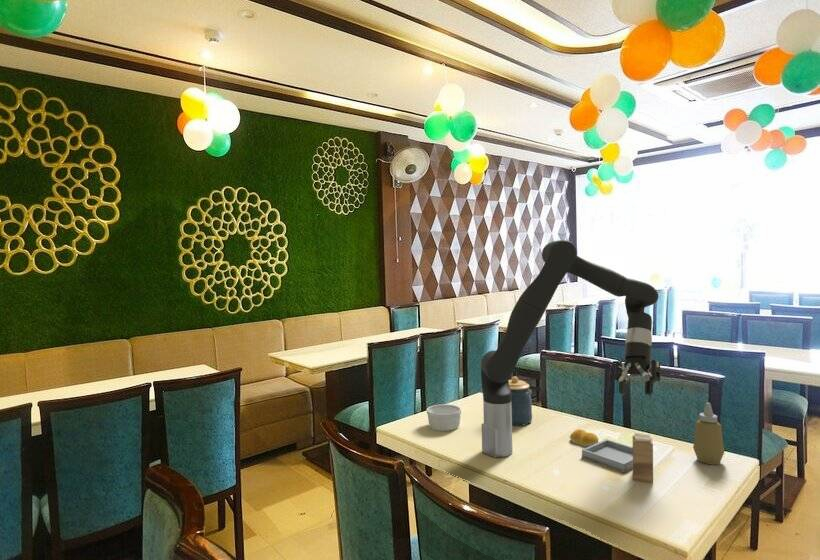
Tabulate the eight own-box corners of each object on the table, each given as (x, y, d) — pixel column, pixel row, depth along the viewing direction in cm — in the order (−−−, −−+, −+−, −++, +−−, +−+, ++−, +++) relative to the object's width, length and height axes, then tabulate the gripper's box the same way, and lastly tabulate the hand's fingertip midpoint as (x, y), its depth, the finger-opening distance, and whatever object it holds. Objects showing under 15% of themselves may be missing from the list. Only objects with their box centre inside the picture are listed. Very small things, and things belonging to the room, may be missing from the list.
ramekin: (420, 429, 178) (420, 411, 178) (437, 419, 189) (436, 402, 189) (451, 435, 171) (451, 416, 171) (467, 424, 182) (466, 406, 182)
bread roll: (591, 449, 155) (591, 437, 155) (567, 442, 162) (566, 430, 162) (603, 442, 161) (603, 431, 161) (579, 436, 168) (579, 425, 167)
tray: (624, 472, 137) (624, 464, 137) (582, 457, 149) (581, 449, 149) (648, 459, 146) (648, 451, 146) (606, 446, 157) (606, 439, 157)
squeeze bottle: (721, 458, 146) (721, 400, 145) (726, 468, 138) (726, 408, 138) (691, 454, 149) (691, 398, 148) (695, 464, 142) (694, 405, 141)
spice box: (653, 482, 131) (652, 440, 130) (633, 479, 133) (633, 438, 132) (651, 475, 135) (651, 434, 135) (632, 472, 137) (632, 432, 137)
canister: (523, 428, 176) (522, 382, 175) (492, 422, 184) (492, 377, 184) (537, 419, 186) (537, 375, 186) (508, 413, 194) (507, 371, 194)
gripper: (611, 342, 154) (607, 391, 149) (651, 338, 142) (649, 391, 137) (626, 349, 157) (622, 397, 152) (666, 346, 145) (664, 398, 140)
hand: (635, 394), depth 144 cm, fingers open, 8 cm apart
